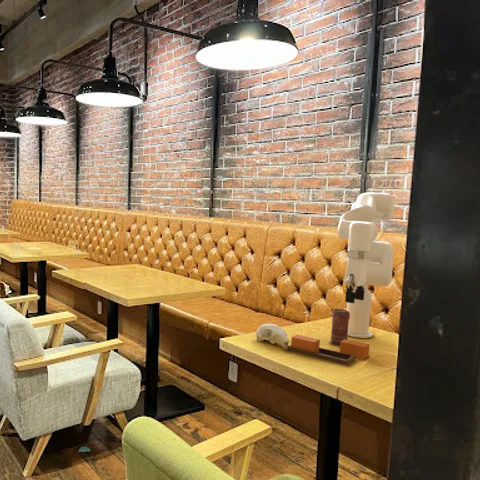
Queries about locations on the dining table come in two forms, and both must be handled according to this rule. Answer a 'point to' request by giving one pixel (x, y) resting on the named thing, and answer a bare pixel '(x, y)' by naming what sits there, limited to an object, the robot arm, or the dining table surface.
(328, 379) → the dining table surface
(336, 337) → the can
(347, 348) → the back pad right
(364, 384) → the dining table surface
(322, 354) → the frame
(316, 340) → the back pad left
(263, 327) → the animal skull
